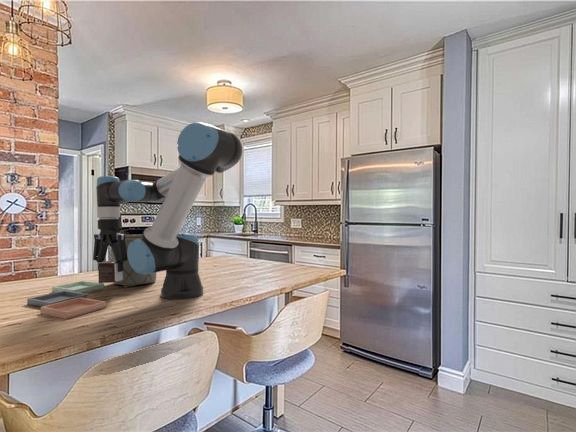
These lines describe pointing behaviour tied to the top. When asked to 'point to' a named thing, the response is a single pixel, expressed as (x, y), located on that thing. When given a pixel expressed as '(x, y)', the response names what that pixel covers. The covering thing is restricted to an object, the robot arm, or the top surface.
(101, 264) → the box
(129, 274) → the planter
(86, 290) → the tray
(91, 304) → the tray
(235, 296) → the top surface
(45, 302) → the tray
